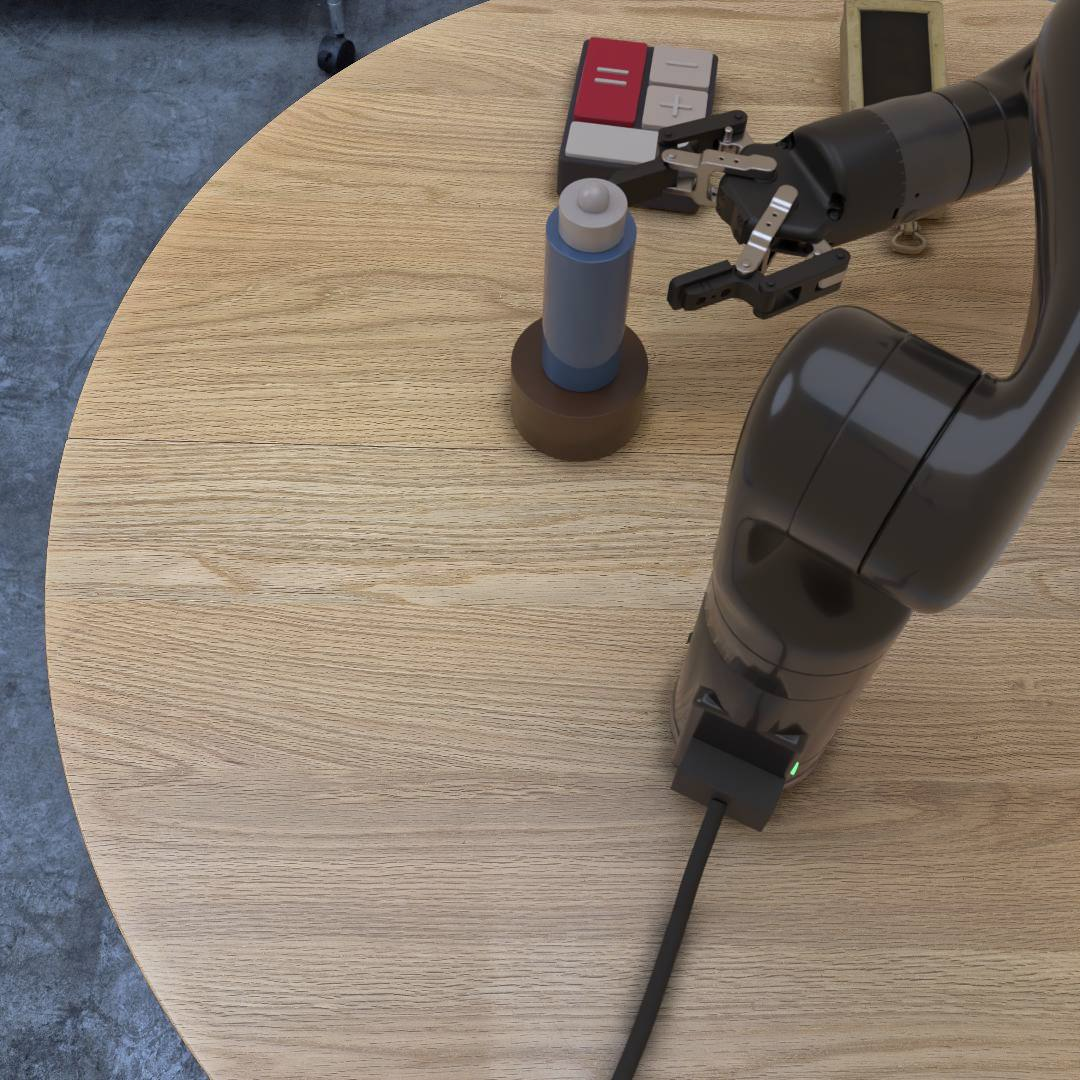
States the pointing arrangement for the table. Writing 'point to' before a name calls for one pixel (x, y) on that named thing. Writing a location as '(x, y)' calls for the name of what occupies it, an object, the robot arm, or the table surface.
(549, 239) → the pepper mill
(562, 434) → the stand
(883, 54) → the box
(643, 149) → the calculator
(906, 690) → the table surface
